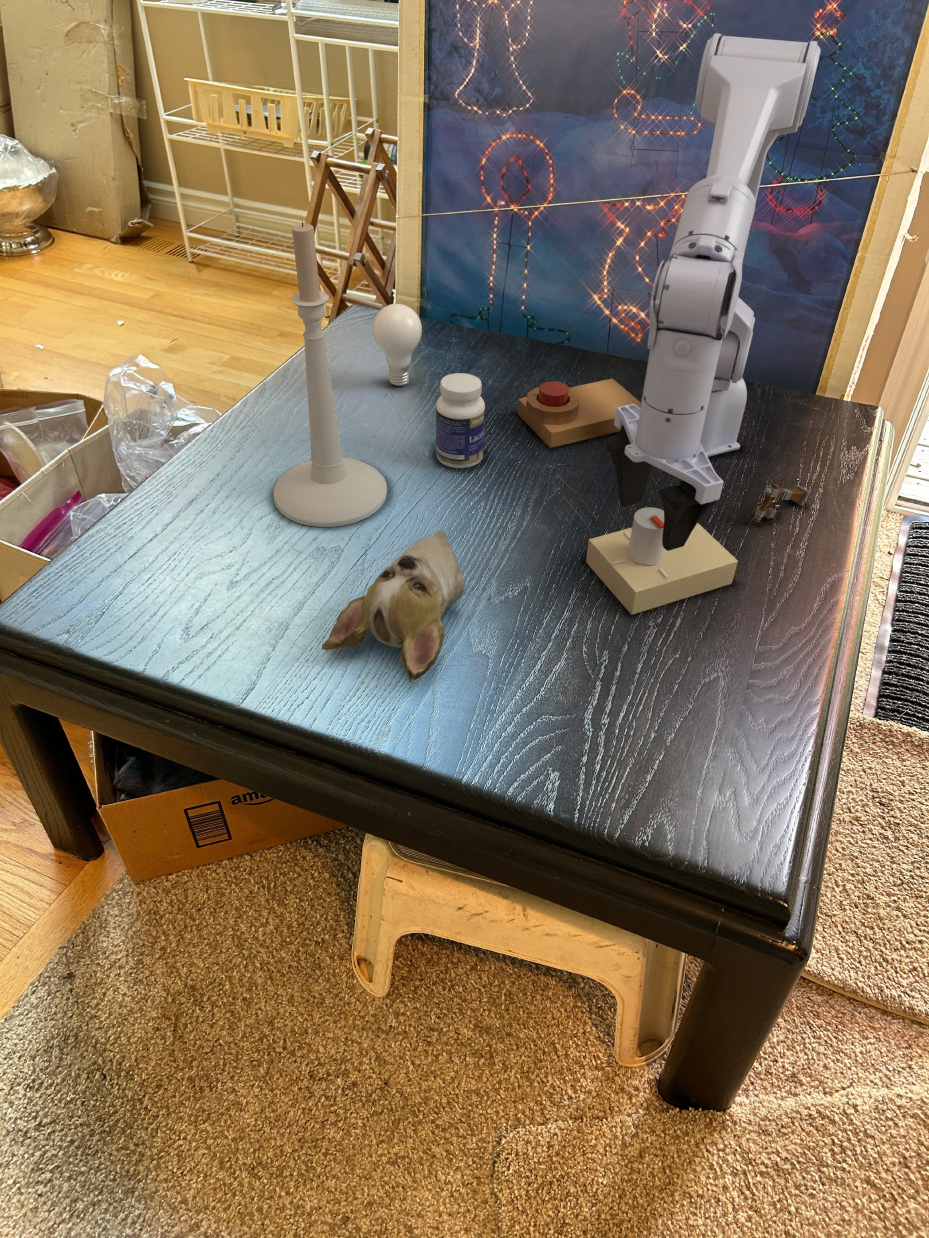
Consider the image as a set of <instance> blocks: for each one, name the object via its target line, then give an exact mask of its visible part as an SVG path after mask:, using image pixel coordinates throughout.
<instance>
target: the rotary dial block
mask: <svg viewBox="0 0 929 1238" xmlns="http://www.w3.org/2000/svg"><path fill="white" fill-rule="evenodd" d="M631 531H632V527H629V528H625V529H621V530H618V531H614V532H610V533H607V534H603V535H600V536H596V537H593V538H589V539H588V543H587V552H586V557H585V558H586V560H585V562H586V564H587V565H588V566H589V568H591V570H592V571H593V572H594V573H595V574H596V576H597V577H598V578H599V579H600V580H601V581H602V582H603V584H604V585H605V586H606V587H607V588H608V589H609V590H610V592H611V593H612V594H613V595H614V596H615V597H616V599H617V600H618V601H619V602H620V603H621V604H622V606H623V607H624V608H625V609H626V610H627V612H628V614H630V615H631V616H632V615H636V614H639V613H642V612H645V611H649V610H653V609H655V608H658V607H660V606H665V605H668V604H671V603H674V602H678V601H680V600H684V599H688V598H691V597H693V596H697V595H700V594H703V593H707V592H710V591H712V590H717V589H719V588H723V587H725V586H729V585H732V584H733V580H734V578H735V573H736V571H737V566H738V563H739V560H738V559H737V558H735V556H734V555H732V553H730V551H728V550H727V549H726V548H725V547H724V546H723V545H722V544H721V543H720V542H719V541H718V540H716V539H715V538H714V536H712V535H711V534H710V533H709V532H708V531H707V530H706V529H705V528H704V527H703V526H702V525H701V524H700V523H699V522H698V523H697V524H696V526H695V528H694V529H693V531H692V532H691V534H690V536H689V538H688V540H687V541H686V543H685V545H684V546H683V547H680V548H676V549H673V550H669V551H667V550H665V554H664V559H663V560H662V561H661V562H660V563H658V564H656V565H650V566H647V565H641V564H638V563H636V562H634V561H633V560H631V559H630V557H629V555H628V548H629V542H630V536H631Z"/></svg>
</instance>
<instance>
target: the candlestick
mask: <svg viewBox="0 0 929 1238" xmlns="http://www.w3.org/2000/svg"><path fill="white" fill-rule="evenodd" d="M291 235H292V241H293V242H292V243H293V252H294V260H295V269H296V276H297V278H296V279H297V286H298V287H297V288H298V292H297V293H295V294H293V295H292V296H291V299H290V300H291V302H292V303H293V304H295V305H296V306H297V315H298V317H299V318H300V319H301V320H302V323H303V325H304V328H305V329H304V332H303V334H302V336H303V339H304V342H303V343H304V356H305V357H304V358H305V372H306V389H307V391H306V393H307V405H308V406H307V407H308V422H309V425H308V426H309V439H310V441H309V442H310V459H309V460H306V461H303V462H301V463H298V464H296V465H294V466H293V467H291V468H289V469H288V470H287V471H286V472H284V473H283V474H282V475H281V476H280V477H279V478H278V480H277V481H276V483H275V485H274V487H273V494H272V495H273V502H274V505H275V507H276V509H277V510H278V511H279V512H280V514H281V515H283V516H284V517H285V518H287V519H289V520H290V521H292V522H295V523H297V524H301V525H304V526H309V527H315V528H316V527H317V528H334V527H335V528H336V527H343V526H348V525H352V524H354V523H358V522H361V521H363V520H365V519H367V518H369V517H370V516H372V515H373V514H375V513H376V512H377V511H378V510H379V509H380V508H381V507H382V506H383V505H384V503H385V502H386V499H387V496H388V485H387V481H386V479H385V477H384V475H382V473H381V472H380V471H379V470H378V469H376V468H375V467H374V466H372V465H370V464H369V463H366V462H364V461H362V460H359V459H355V458H352V457H345V456H344V455H343V450H342V445H341V438H340V437H341V436H340V430H339V426H338V424H339V423H338V419H337V412H336V405H335V398H334V393H333V391H334V390H333V386H332V379H331V372H330V365H329V359H328V353H327V346H326V339H325V336H326V334H325V332H324V331H323V328H322V323H323V318H324V317H325V315H326V309H325V304H326V302H328V301H329V298H330V296H329V295H328V294H327V293H326V292H324V291H320V290H321V289H320V280H319V270H318V259H317V251H316V250H317V248H316V240H315V238H316V237H315V229H314V226H313V225H312V224H309V223H304V222H303V221H302V222H301V223H297V224H294V225H293V226H291Z"/></svg>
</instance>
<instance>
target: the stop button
mask: <svg viewBox="0 0 929 1238" xmlns="http://www.w3.org/2000/svg"><path fill="white" fill-rule="evenodd" d="M539 387H540V388H539V403H540V404H542V405H545V406H549V407H560V406H565V405H566V404H567V402H568V392H569V388H570V387H569V386H568V385H567V384H566V383H563V382H561V381H552V380H551V381H545V382H543V383H541V384H540V385H539Z"/></svg>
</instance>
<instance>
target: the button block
mask: <svg viewBox="0 0 929 1238" xmlns="http://www.w3.org/2000/svg"><path fill="white" fill-rule="evenodd" d="M539 388H540V386H538V387H534V388H533V389H531V390H530V391H529V392H527V394H526V396H525V397H520V398H518V400H517V414H518V416H519V417H520V418H521V419H522V420H523V421H524V422H525V424H527V426H528V427H529V428H531V430H532V431H533V433H535V434H536V435H537V436H538V437H539V438H540V439H541V440H542V441H543V442H544V443H545V445H547V447H548V448H550V449H551V448H556V447H560V446H564V445H569V444H573V443H576V442H581V441H585V440H589V439H593V438H598V437H602V436H606V435H611V434H614V433H619V432H621V429H618V428H617V427H616V426H615V425H614V421H615V414H616V408H617V407H621V406H625V405H630V404H635V405H636V406H637V407H639V408H640V409H641V402H642V401H639V400H638V399H637V398H636V397H635V396H634V395H632V393H630V392H629V391H628V390H626V388H625V387H623V386H622V385H621V384H620V383H619V382H618V381H616V380H615V379H614V378H608V379H604V380H599V381H594V382H589V383H586V384H580V385H575V386H571V387H568V388H569V392H568V402H567V404H566V405H565V406H560V407H549V406H545V405H542V404H540V403H539Z"/></svg>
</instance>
